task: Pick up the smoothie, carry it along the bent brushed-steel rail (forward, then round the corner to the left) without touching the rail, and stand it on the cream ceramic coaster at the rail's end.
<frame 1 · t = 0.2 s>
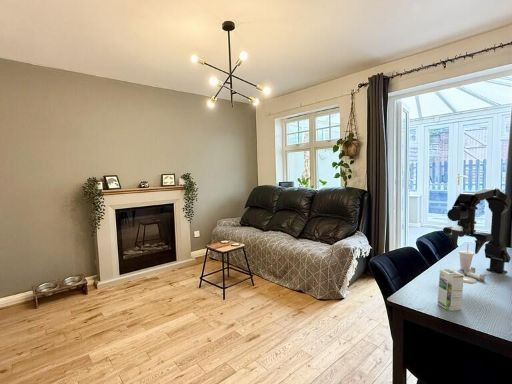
hand: (465, 251, 132), 14 cm above the table, fingers open, 9 cm apart
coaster: (465, 279, 133), on the table
steel rail: (466, 275, 138), on the table
smoothie: (465, 270, 146), on the table
syrup box: (449, 307, 108), on the table
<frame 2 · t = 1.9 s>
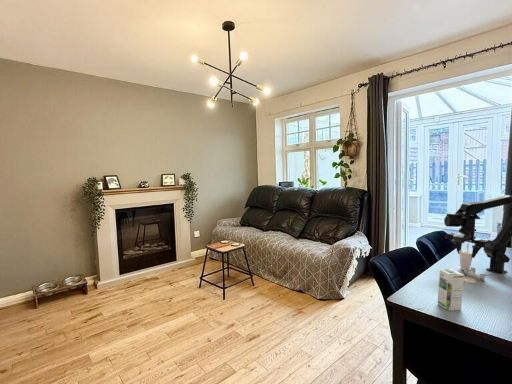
hand: (466, 255, 145), 8 cm above the table, fingers closed on smoothie, 6 cm apart
smoothie: (465, 270, 146), on the table, touching gripper
everything else where it was.
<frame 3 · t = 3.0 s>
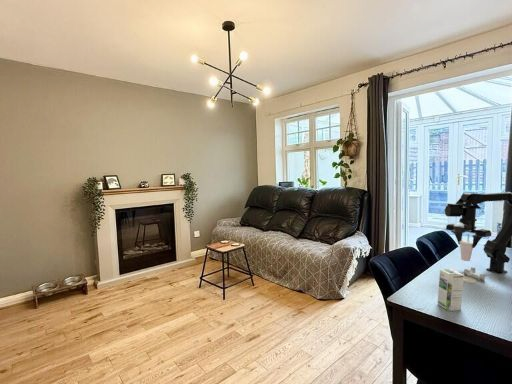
hand: (466, 246, 144), 13 cm above the table, fingers closed on smoothie, 6 cm apart
smoothie: (465, 260, 145), point 5 cm above the table, touching gripper
everything else where it was.
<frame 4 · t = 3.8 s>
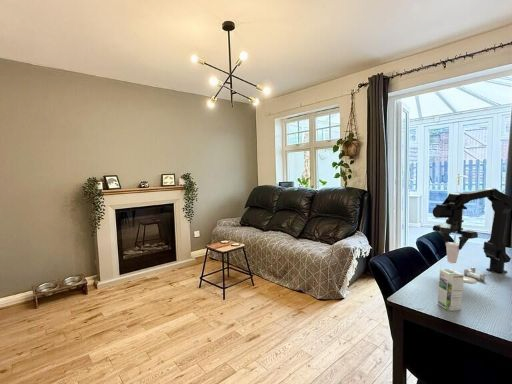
hand: (452, 247, 140), 13 cm above the table, fingers closed on smoothie, 6 cm apart
smoothie: (451, 262, 141), point 6 cm above the table, touching gripper
everything else where it was.
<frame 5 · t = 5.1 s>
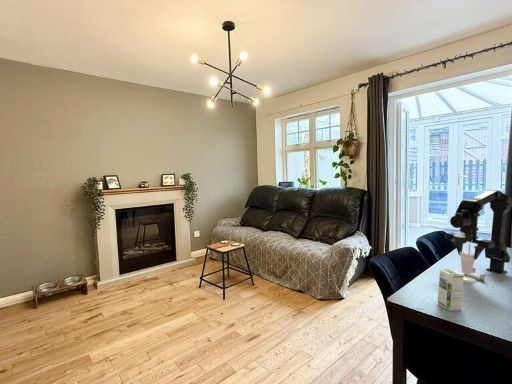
hand: (467, 257, 132), 11 cm above the table, fingers closed on smoothie, 6 cm apart
smoothie: (466, 273, 133), point 3 cm above the table, touching gripper
everything else where it was.
when the fingers open (9 cm above the table, at t = 5.9 s): smoothie drops 1 cm, resting on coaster.
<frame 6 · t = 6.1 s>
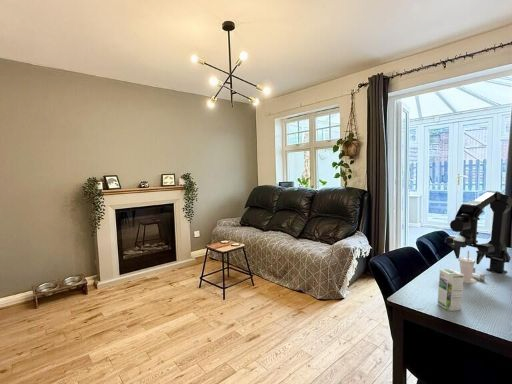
hand: (467, 261, 132), 9 cm above the table, fingers open, 8 cm apart
smoothie: (466, 279, 133), resting on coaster
everything else where it was.
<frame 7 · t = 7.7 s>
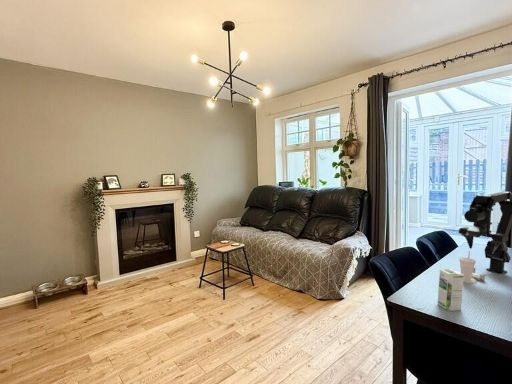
hand: (481, 251, 136), 13 cm above the table, fingers open, 9 cm apart
nothing on the table moved.
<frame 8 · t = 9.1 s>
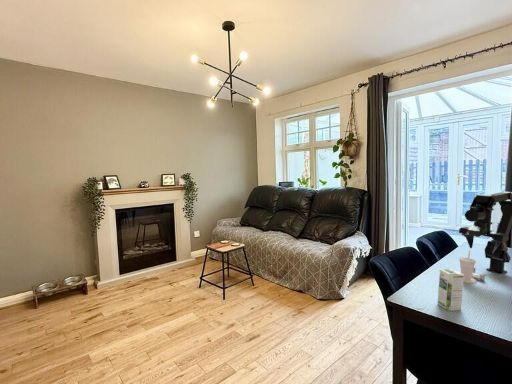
hand: (481, 250, 136), 13 cm above the table, fingers open, 9 cm apart
nothing on the table moved.
at the end: smoothie 0.1 cm from the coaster (horizontally); smoothie tilted 0°; the gripper is holding nothing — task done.
